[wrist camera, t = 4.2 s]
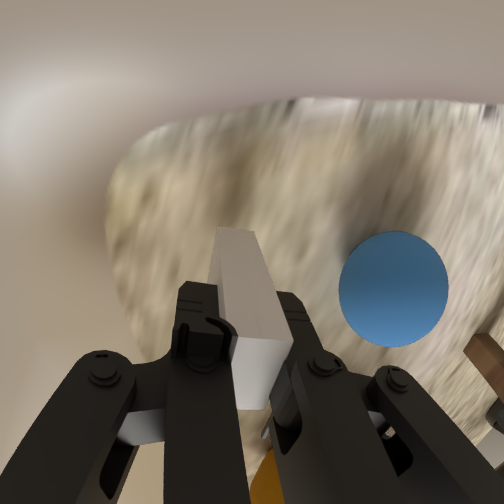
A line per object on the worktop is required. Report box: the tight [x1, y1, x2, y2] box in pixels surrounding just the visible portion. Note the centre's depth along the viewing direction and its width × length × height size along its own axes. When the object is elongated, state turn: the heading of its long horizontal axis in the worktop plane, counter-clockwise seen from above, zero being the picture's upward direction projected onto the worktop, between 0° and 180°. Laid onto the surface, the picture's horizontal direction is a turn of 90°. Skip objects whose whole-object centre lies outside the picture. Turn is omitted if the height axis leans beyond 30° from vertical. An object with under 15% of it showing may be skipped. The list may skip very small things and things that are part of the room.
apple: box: [249, 448, 285, 504], centre depth 19 cm, size 10×10×12 cm
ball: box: [339, 231, 449, 347], centre depth 13 cm, size 6×6×6 cm
